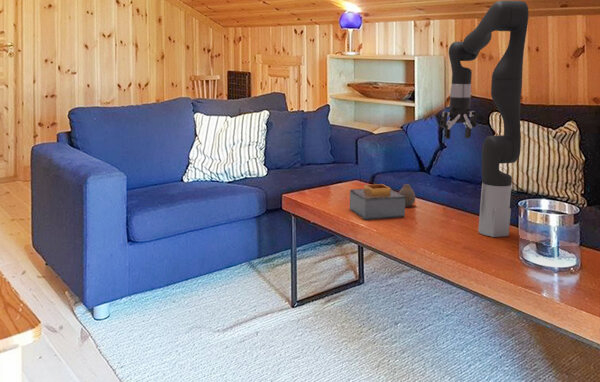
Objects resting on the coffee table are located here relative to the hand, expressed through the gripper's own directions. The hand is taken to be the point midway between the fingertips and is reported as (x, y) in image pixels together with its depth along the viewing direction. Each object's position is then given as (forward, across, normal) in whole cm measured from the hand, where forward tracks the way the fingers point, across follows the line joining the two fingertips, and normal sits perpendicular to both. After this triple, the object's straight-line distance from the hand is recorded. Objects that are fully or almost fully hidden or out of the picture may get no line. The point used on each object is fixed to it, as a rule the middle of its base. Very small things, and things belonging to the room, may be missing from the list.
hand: (457, 138), depth 207 cm
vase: (+28, -16, +9) cm, 34 cm away
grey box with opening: (+28, -32, +4) cm, 43 cm away
